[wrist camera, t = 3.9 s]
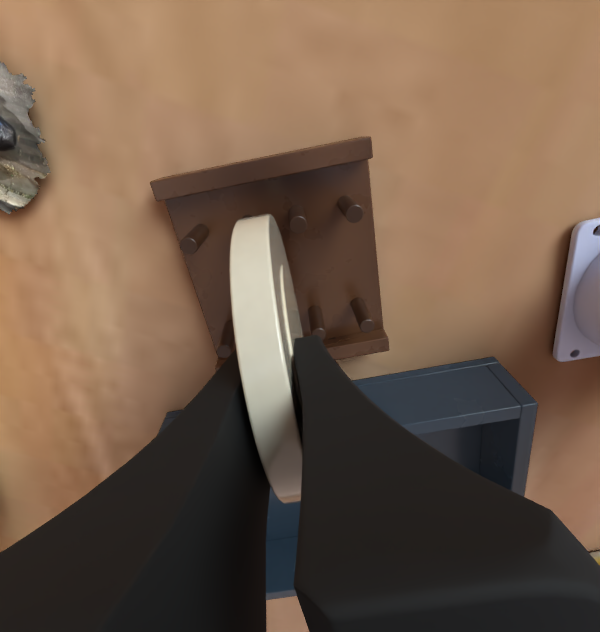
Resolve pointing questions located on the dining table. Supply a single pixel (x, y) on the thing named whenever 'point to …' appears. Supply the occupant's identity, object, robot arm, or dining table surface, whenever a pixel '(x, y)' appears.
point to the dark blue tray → (429, 438)
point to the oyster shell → (18, 144)
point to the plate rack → (288, 239)
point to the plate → (268, 349)
